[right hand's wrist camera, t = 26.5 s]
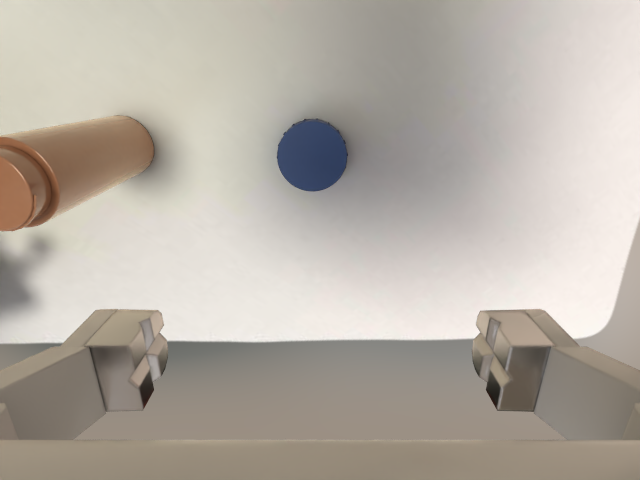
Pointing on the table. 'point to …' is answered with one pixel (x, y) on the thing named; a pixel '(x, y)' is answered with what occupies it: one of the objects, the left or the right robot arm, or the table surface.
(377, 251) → the table surface
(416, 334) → the table surface
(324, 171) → the lid
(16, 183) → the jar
